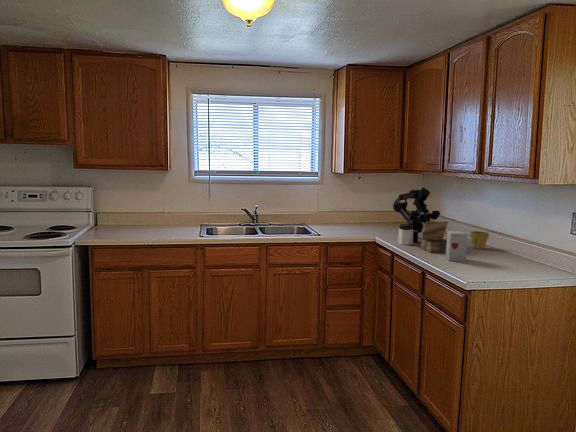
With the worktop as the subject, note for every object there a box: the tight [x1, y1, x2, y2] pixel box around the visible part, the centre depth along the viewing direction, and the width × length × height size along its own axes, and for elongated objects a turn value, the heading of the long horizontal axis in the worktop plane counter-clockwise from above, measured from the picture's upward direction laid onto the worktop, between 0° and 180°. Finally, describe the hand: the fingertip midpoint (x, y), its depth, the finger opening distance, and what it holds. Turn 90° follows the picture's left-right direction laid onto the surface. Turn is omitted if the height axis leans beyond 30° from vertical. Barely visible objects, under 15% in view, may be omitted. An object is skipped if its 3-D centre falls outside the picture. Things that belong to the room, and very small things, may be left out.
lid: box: [420, 220, 449, 239], centre depth 288 cm, size 12×14×1 cm
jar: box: [397, 223, 414, 246], centre depth 306 cm, size 9×8×12 cm
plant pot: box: [469, 230, 490, 250], centre depth 295 cm, size 10×10×10 cm
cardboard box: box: [420, 238, 447, 254], centre depth 285 cm, size 12×14×6 cm
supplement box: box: [445, 230, 469, 263], centre depth 261 cm, size 9×9×15 cm
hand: (428, 226), depth 294 cm, fingers closed
